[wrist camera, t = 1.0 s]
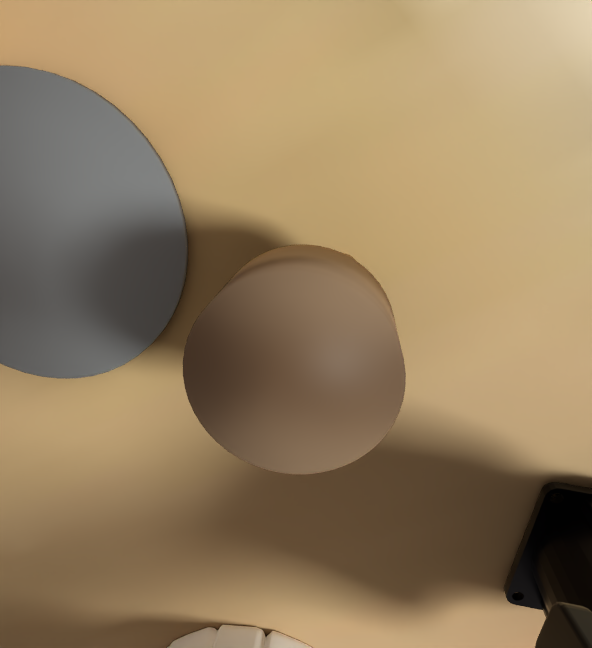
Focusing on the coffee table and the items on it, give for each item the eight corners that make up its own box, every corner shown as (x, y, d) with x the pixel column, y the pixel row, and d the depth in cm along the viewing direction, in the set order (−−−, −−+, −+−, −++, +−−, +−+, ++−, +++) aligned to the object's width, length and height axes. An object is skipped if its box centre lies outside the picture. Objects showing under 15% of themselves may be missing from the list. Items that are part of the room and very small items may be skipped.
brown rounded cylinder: (372, 387, 20) (380, 491, 14) (228, 362, 21) (177, 453, 15) (403, 242, 18) (429, 293, 12) (243, 217, 19) (189, 253, 12)
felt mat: (179, 396, 21) (176, 400, 21) (-84, 349, 22) (-92, 352, 22) (198, 92, 17) (194, 91, 17) (-128, 45, 18) (-138, 43, 18)
